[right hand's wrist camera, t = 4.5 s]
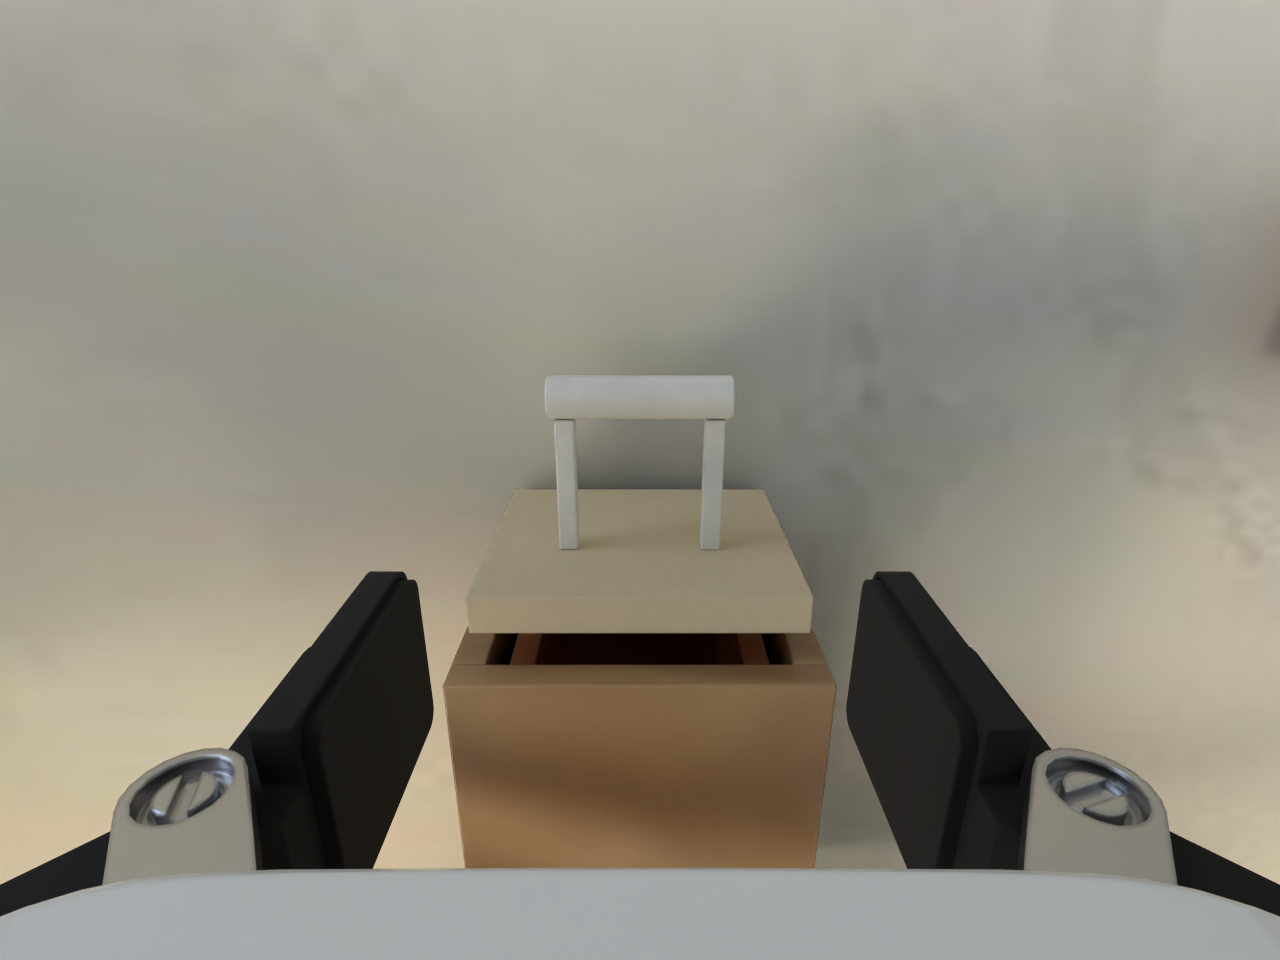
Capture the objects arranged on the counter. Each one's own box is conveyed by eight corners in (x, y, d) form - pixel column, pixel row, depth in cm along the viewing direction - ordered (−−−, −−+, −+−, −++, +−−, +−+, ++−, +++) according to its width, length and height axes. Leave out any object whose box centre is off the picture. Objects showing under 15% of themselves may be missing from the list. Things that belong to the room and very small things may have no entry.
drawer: (505, 346, 25) (444, 402, 17) (774, 346, 25) (834, 403, 17) (537, 816, 33) (506, 999, 25) (741, 816, 33) (772, 999, 25)
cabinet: (508, 529, 28) (441, 685, 19) (770, 529, 28) (837, 685, 19) (532, 852, 35) (492, 1091, 25) (746, 852, 35) (787, 1091, 25)
